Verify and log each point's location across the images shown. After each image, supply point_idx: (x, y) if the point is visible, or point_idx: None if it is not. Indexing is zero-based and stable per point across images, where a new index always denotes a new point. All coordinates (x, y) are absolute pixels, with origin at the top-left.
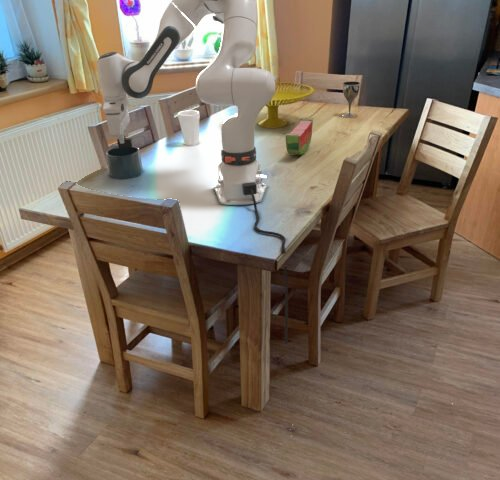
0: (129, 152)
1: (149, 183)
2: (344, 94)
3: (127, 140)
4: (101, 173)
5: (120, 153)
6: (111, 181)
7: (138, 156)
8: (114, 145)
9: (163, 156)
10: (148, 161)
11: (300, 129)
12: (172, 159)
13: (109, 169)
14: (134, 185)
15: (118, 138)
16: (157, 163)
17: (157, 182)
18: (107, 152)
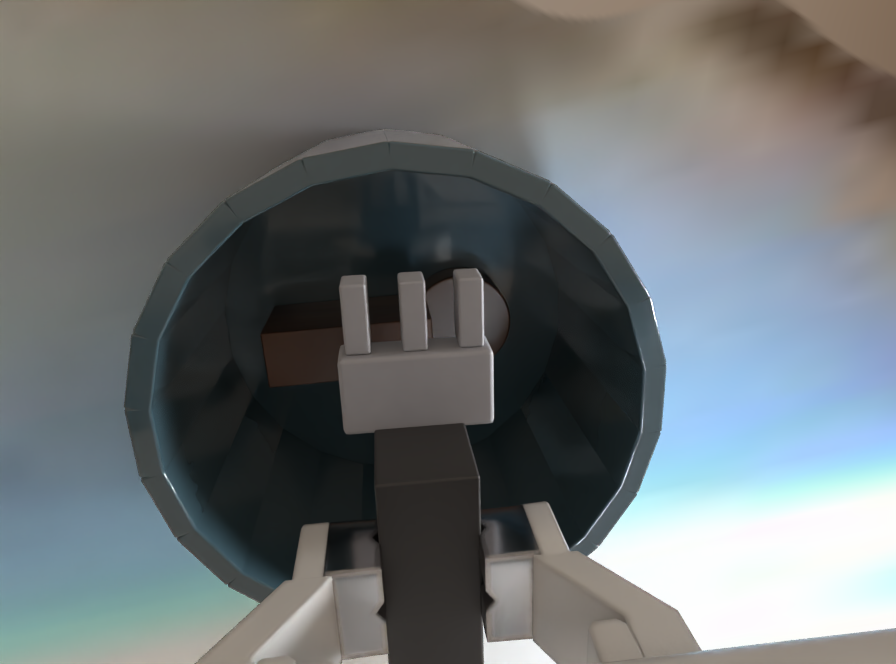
0: (603, 408)
1: (98, 594)
2: None
3: (390, 647)
4: (401, 4)
5: (595, 288)
6: (121, 212)
7: None
8: (352, 372)
9: (836, 544)
10: (726, 446)
11: None
12: (730, 631)
13: (271, 170)
14: (26, 481)
15: (466, 492)
16: (648, 538)
17: (130, 649)
18: (384, 171)
